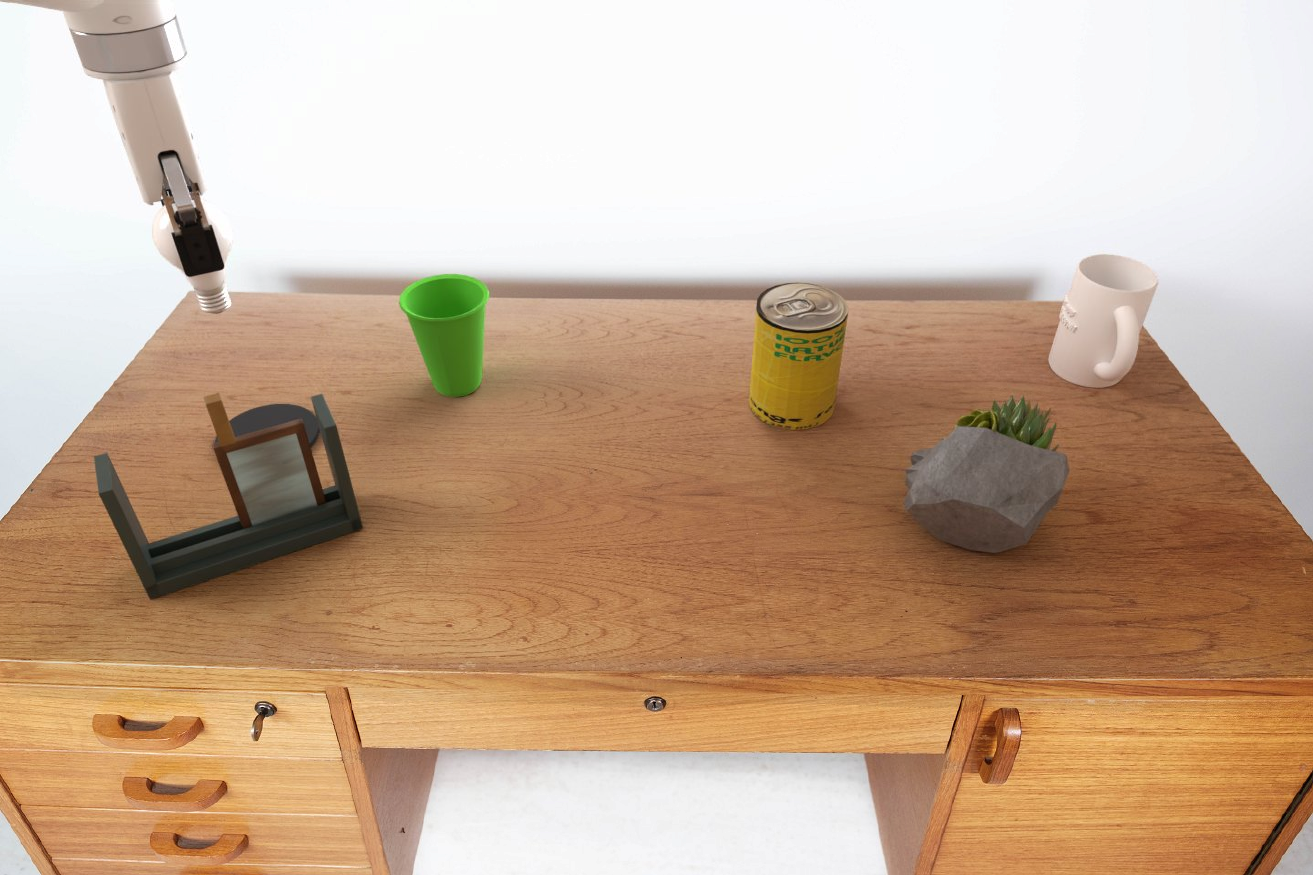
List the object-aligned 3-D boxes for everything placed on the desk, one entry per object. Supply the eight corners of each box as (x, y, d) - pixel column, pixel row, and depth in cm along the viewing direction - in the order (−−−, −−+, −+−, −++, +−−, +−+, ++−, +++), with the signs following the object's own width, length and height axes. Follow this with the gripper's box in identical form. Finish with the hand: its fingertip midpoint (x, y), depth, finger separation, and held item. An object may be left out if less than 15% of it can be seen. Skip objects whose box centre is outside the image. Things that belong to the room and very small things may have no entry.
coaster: (225, 482, 92) (223, 477, 92) (208, 425, 99) (207, 420, 99) (330, 450, 96) (329, 446, 96) (307, 398, 103) (306, 393, 102)
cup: (507, 362, 108) (497, 275, 101) (488, 411, 101) (476, 321, 94) (429, 357, 109) (413, 271, 102) (405, 406, 102) (386, 316, 95)
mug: (1069, 410, 102) (1102, 312, 94) (1036, 347, 111) (1064, 253, 103) (1148, 411, 101) (1187, 313, 94) (1108, 347, 111) (1142, 254, 103)
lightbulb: (201, 292, 92) (165, 183, 85) (265, 296, 91) (234, 186, 85) (168, 327, 87) (126, 215, 80) (235, 332, 87) (200, 219, 80)
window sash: (246, 538, 84) (197, 406, 75) (243, 529, 85) (195, 398, 76) (329, 511, 87) (291, 381, 78) (326, 503, 88) (288, 373, 79)
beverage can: (851, 413, 101) (867, 314, 93) (781, 439, 98) (791, 340, 90) (800, 370, 107) (811, 274, 100) (732, 393, 104) (738, 296, 96)
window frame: (150, 599, 81) (98, 493, 73) (143, 561, 84) (93, 456, 77) (363, 528, 87) (336, 424, 80) (349, 495, 91) (322, 393, 83)
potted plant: (867, 505, 85) (916, 382, 93) (964, 586, 89) (1004, 461, 96) (973, 473, 75) (1018, 338, 83) (1078, 566, 79) (1112, 428, 86)
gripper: (70, 23, 79) (142, 224, 90) (85, 87, 67) (166, 310, 78) (168, 11, 82) (226, 207, 93) (199, 71, 70) (262, 288, 81)
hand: (198, 252), depth 85 cm, fingers closed on lightbulb, 6 cm apart
